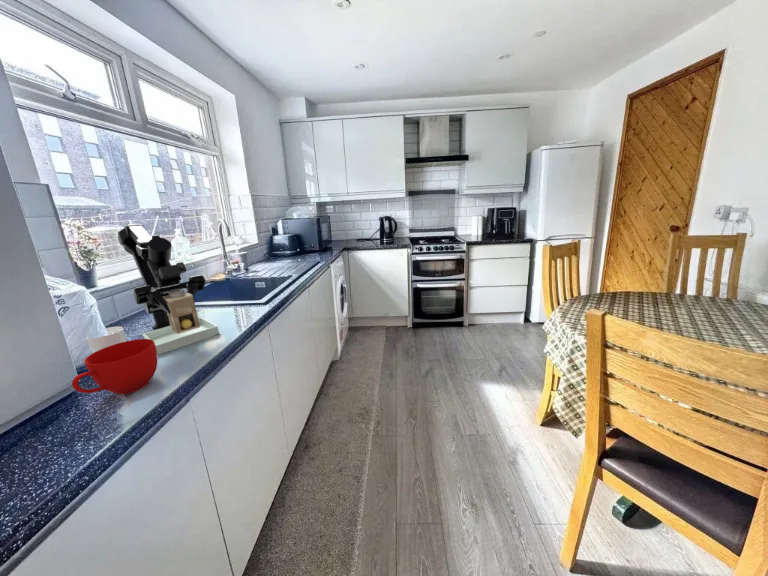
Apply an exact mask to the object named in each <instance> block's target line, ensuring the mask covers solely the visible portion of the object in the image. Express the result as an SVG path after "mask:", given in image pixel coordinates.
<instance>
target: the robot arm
mask: <svg viewBox="0 0 768 576" xmlns="http://www.w3.org/2000/svg"><path fill="white" fill-rule="evenodd" d="M117 239H118V242H119V244H120V246H122V247H123V249H124V251H126V252H127V253H128V254H130V255H131V256H132V257H133V260H134V263H135V265H136V266H137V269H138V271H139V274H140V277H141V279H142V281H143V283H144V285H141V286H136V287H134V289H133V298H134V301H135V304H137V305H143V307H144V309H145V312H146V313H147V314H148V315H150V314H151V315H152V317H153V320H154V321H153V322H154V325H153V326H152V330H153V329H154V330H156V329H161V328H164V327H168V326H170V322H169V319H168V315H167V313H168V314H170V310H169V308H168V306H167V304H166V303H165V301H164V300H163V297H164V296H168V295H169V292H170V291H173V290H179V289H183V290H187V291H186V292H188V293H190V294H192V295H193V299H194V303H195V304H196V300H195V294H197V293H198V291H199V292H200V291H203V290H204V289H205V285H206V279H205V277H204V275H202V274H197V275H191V276H189V277H188V281H184V282H181V280H182V277H181V275H182V274H185V273H186V272H187V267H186V265H185V264H184V262H183V261H181V262H176V264H172V263H171V262H170V261H171V257H172V255H171V254H172V243H171V241H169V240H168V238H164V237H160V235H157V234H156V235H150V233H149V232H148V231H147V229H146V228H145V227H144V225H143V223H142V224H141V223H131V224H126V225H124V228H123V229H121V230H119V231H118V232H117Z"/></svg>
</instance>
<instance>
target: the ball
mask: <svg viewBox="0 0 768 576" xmlns="http://www.w3.org/2000/svg"><path fill="white" fill-rule="evenodd" d="M180 325H181V327H182V328H184V329H187V328H190V327H191V325H192V322H191V321H190V320H189V319H185V320H183V321H181V324H180Z"/></svg>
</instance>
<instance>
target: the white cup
mask: <svg viewBox="0 0 768 576" xmlns="http://www.w3.org/2000/svg"><path fill="white" fill-rule="evenodd" d="M104 329H106V331H107V332H108V333H107V334H109V335H106V336H101V337H95V338H88V337H86V336H85V338H86V340H87V343H88V345H89V347H90V349H91V352H92V354H93V353H94V352H96V351H99V350H101V349H103V348H106V347H108V346H111V345H115V344H118V343H122V342H126V341H127V337H126V333H125V330H124V327H123V326H111V327H106V328H104Z"/></svg>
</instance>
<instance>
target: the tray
mask: <svg viewBox="0 0 768 576" xmlns="http://www.w3.org/2000/svg"><path fill="white" fill-rule="evenodd" d="M198 319H199V323H200V327H199V328H196V329H193V330H190V331H186V332H183V333H180V334H177V333H176V332H174V331H173V330H172V329H171V326H166V327H160V328H156V329H154V330H151V331H148V332H144V333H142V337H143V339H150V340H153V341H154V343H155V346H156V351H157V356H159V355H162V354H164V353H168V352H170V351H174V350H176V349H179V348H183V347H185V346H188V345H191V344H194V343H196V342H199V341H202V340H205V339H209V338H212V337H214V335H215V336H216V334H218V335H220V331H219V330H220V329H219V326H218V325H217V324H215V323H213V322H211V321H209V320H208V319H206V318H204V317H202V316H198Z"/></svg>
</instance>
